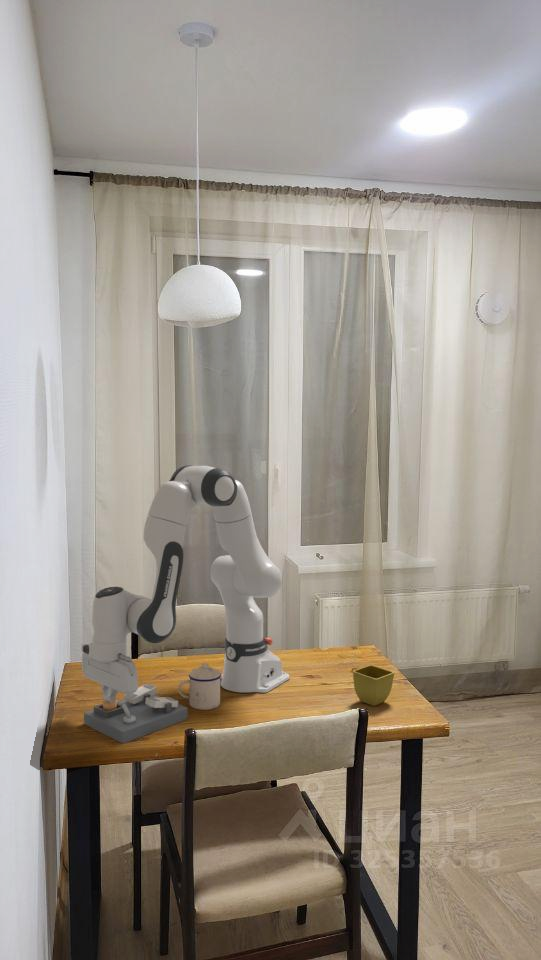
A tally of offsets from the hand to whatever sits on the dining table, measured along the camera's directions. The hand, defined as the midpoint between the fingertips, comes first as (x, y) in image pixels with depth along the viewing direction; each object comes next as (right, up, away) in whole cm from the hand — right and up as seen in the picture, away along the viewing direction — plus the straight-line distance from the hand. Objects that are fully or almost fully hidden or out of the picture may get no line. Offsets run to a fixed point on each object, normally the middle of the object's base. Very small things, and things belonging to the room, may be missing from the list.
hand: (109, 701), depth 191 cm
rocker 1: (+7, 0, +8) cm, 11 cm away
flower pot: (+72, -6, +18) cm, 74 cm away
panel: (+7, -6, +2) cm, 9 cm away
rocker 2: (+13, -1, +2) cm, 14 cm away
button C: (0, -3, 0) cm, 3 cm away
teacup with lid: (+22, -5, +14) cm, 27 cm away
